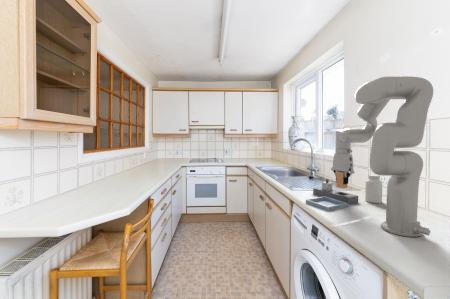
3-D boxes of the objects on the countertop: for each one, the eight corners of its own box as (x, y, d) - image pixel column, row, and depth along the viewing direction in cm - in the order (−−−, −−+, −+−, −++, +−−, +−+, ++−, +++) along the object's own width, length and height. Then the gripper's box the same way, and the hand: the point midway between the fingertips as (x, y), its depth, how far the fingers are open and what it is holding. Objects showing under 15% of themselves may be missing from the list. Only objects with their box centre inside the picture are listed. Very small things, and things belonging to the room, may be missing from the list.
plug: (347, 187, 124) (347, 168, 123) (342, 188, 122) (343, 168, 121) (341, 186, 127) (341, 167, 126) (336, 186, 126) (336, 168, 125)
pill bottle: (371, 198, 129) (372, 173, 129) (385, 202, 122) (386, 176, 121) (361, 200, 127) (362, 174, 126) (375, 204, 119) (375, 177, 118)
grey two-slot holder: (358, 203, 120) (358, 195, 120) (348, 205, 117) (348, 197, 117) (322, 193, 142) (322, 186, 142) (313, 195, 138) (313, 188, 138)
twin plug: (332, 197, 133) (332, 179, 132) (327, 198, 131) (327, 180, 131) (326, 195, 137) (326, 178, 136) (321, 196, 135) (322, 179, 134)
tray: (348, 208, 113) (348, 203, 113) (328, 212, 107) (328, 207, 107) (324, 200, 126) (324, 196, 126) (305, 204, 120) (305, 199, 120)
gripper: (361, 152, 117) (360, 185, 118) (334, 150, 132) (333, 179, 134) (352, 152, 114) (351, 187, 115) (325, 150, 129) (324, 181, 130)
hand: (341, 182), depth 124 cm, fingers closed on plug, 4 cm apart
